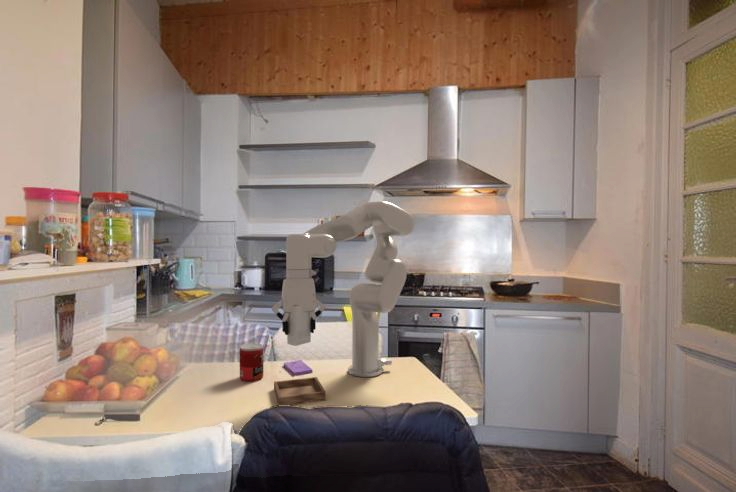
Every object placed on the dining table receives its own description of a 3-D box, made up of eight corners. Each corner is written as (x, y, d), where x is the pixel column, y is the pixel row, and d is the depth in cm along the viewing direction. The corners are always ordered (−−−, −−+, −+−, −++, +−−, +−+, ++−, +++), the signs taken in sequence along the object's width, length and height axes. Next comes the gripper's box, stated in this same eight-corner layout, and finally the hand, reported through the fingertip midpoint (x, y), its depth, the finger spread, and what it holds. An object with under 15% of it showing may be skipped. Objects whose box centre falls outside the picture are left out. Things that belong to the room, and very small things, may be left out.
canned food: (257, 382, 132) (257, 349, 132) (235, 381, 133) (235, 348, 133) (267, 375, 139) (267, 343, 139) (246, 373, 141) (246, 342, 141)
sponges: (301, 364, 153) (301, 359, 153) (312, 374, 142) (312, 368, 142) (283, 367, 150) (283, 362, 150) (293, 377, 139) (293, 372, 139)
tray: (316, 384, 130) (316, 376, 130) (325, 400, 117) (325, 391, 117) (274, 389, 126) (274, 381, 126) (278, 406, 113) (278, 397, 113)
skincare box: (301, 340, 125) (301, 301, 125) (311, 342, 122) (311, 303, 122) (286, 344, 121) (286, 304, 120) (295, 346, 118) (295, 305, 118)
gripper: (324, 273, 128) (324, 328, 128) (268, 274, 122) (268, 332, 122) (329, 275, 120) (329, 333, 121) (270, 276, 115) (270, 338, 115)
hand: (299, 332), depth 121 cm, fingers closed on skincare box, 7 cm apart
